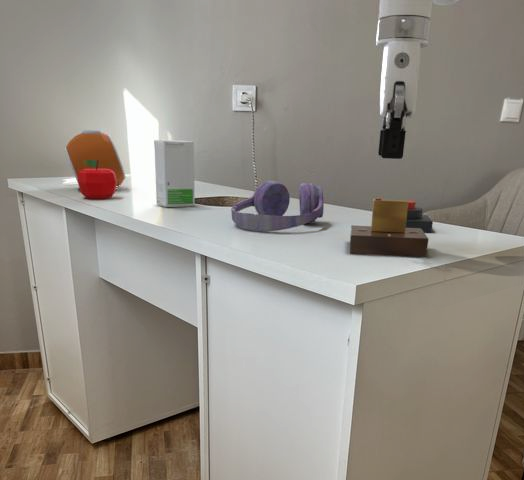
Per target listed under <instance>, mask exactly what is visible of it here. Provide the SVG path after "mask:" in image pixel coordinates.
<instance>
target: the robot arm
mask: <svg viewBox="0 0 524 480" xmlns="http://www.w3.org/2000/svg"><path fill="white" fill-rule="evenodd" d="M459 1H460V0H379V6H378V7H379V8H378V17H377V18H378V20H377V29H376V40H375V47H377V48H380V49H383V52H382V63H381V74H380V75H381V76H380V88H379V89H380V90H379V115H380V116H381V117H382V125H381V129H380V131H379V142H378V151H377V154H378V156H380V158H381V159H391V160H392V159H394V160H401V159H403V157H404V152H405V142H406V141H405V140H406V132H407V130H406V121H407V120H406V119H411V118H412V117H413V116H415V115H416V108H417V96H418V87H419V75H420V64H421V49H422V48H427V47H428V46H429V45H428V44H429V35H430V30H431V29H430V27H431V19H432V10H433V4H435V5H437V6H441V7H442V6H443V7H444V6H446V7H447V6H451V5H454V4H456V3H457V2H459Z"/></svg>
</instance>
